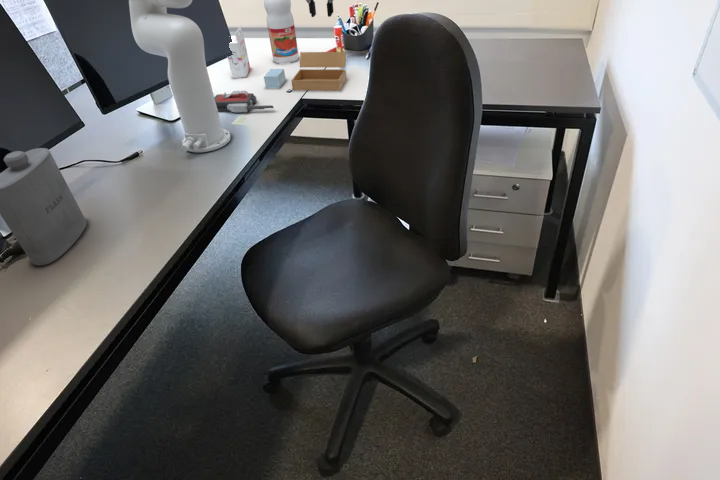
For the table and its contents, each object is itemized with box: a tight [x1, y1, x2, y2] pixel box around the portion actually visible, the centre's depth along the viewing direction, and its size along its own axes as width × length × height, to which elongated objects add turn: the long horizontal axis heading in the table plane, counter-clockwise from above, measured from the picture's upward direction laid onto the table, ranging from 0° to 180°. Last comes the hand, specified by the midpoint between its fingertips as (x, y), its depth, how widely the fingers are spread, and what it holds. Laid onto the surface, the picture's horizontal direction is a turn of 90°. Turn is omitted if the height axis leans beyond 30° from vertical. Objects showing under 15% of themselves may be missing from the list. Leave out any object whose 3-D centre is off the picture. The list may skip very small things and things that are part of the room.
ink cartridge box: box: [227, 25, 251, 79], centre depth 165 cm, size 9×5×15 cm, turn 179°
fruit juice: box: [263, 0, 300, 64], centre depth 169 cm, size 9×9×28 cm
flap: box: [299, 51, 347, 68], centre depth 157 cm, size 5×15×1 cm
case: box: [263, 68, 287, 89], centre depth 158 cm, size 7×5×4 cm, turn 169°
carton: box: [290, 68, 347, 91], centre depth 155 cm, size 10×15×3 cm, turn 79°
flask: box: [0, 147, 88, 267], centre depth 92 cm, size 15×6×20 cm, turn 175°
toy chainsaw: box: [214, 90, 274, 113], centre depth 145 cm, size 9×4×20 cm
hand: (321, 15), depth 153 cm, fingers open, 4 cm apart
